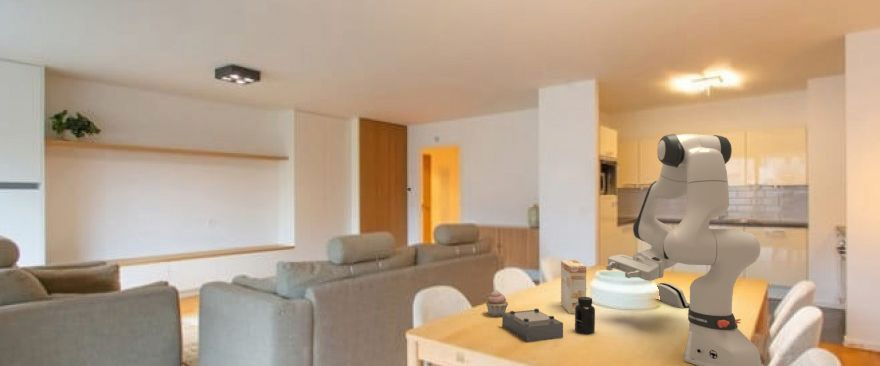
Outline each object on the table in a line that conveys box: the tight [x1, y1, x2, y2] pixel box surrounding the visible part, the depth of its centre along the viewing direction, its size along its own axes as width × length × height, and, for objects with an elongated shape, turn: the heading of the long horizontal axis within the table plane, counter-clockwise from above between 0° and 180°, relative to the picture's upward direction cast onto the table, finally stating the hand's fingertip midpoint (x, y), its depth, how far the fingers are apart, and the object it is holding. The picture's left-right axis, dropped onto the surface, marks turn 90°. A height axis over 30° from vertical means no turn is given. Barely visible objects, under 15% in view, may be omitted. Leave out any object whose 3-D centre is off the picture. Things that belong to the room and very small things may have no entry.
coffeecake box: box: [560, 259, 587, 315], centre depth 198 cm, size 15×7×20 cm, turn 179°
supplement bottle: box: [574, 296, 596, 335], centre depth 168 cm, size 7×7×12 cm
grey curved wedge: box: [656, 282, 690, 309], centre depth 208 cm, size 17×5×10 cm, turn 11°
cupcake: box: [485, 289, 509, 318], centre depth 190 cm, size 9×9×10 cm
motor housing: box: [501, 308, 564, 343], centre depth 169 cm, size 21×14×6 cm, turn 19°
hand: (616, 271), depth 174 cm, fingers open, 8 cm apart
